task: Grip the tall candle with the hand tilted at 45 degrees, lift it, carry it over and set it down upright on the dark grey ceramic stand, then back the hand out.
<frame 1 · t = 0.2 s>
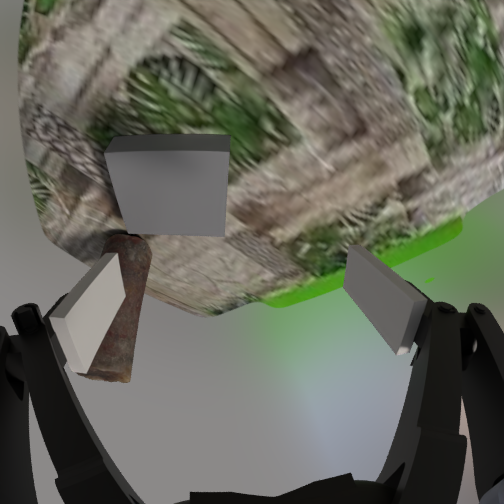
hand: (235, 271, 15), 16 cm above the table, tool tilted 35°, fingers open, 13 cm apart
candle: (130, 242, 39), on the table
stand: (173, 180, 30), on the table
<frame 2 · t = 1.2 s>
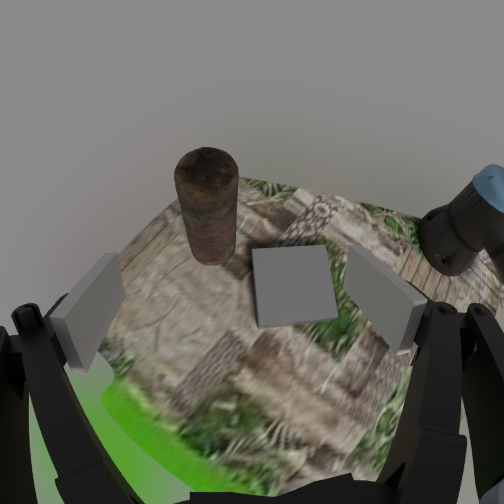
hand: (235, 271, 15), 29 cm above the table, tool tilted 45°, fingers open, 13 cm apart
candle: (214, 248, 47), on the table
stand: (291, 288, 45), on the table
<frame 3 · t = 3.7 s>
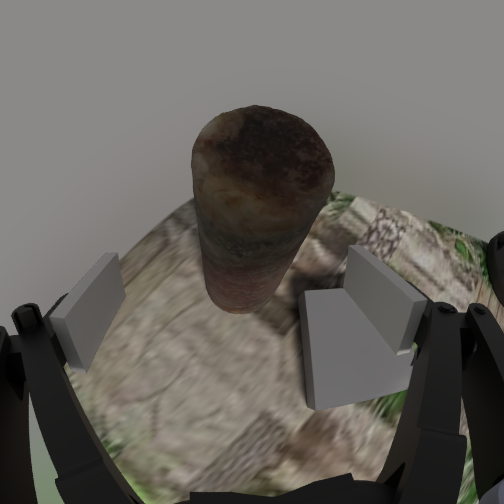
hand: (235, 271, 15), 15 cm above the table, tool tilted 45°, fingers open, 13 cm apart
candle: (241, 283, 31), on the table
stand: (354, 346, 29), on the table
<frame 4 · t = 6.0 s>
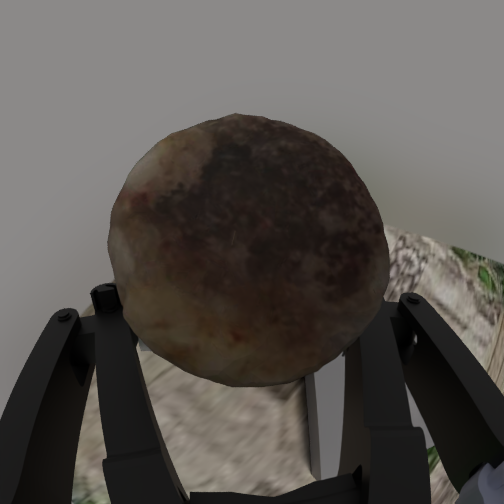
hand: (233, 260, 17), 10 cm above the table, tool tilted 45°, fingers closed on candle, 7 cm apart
candle: (233, 339, 24), on the table, touching gripper
stand: (367, 405, 22), on the table
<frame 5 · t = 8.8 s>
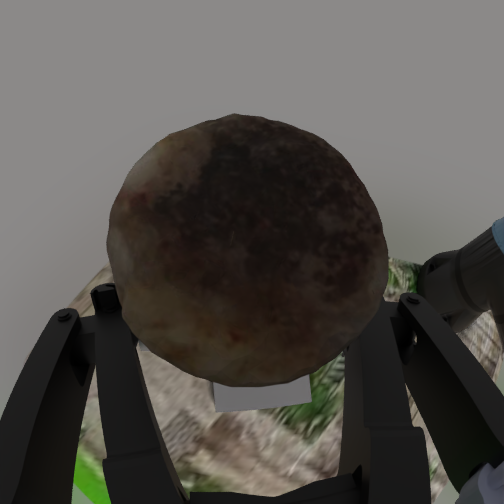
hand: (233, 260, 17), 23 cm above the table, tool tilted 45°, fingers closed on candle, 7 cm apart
candle: (233, 339, 24), point 13 cm above the table, touching gripper
stand: (257, 363, 36), on the table
when the fingers open (14 cm above the table, at t = 11.9 s): candle drops 1 cm, resting on stand.
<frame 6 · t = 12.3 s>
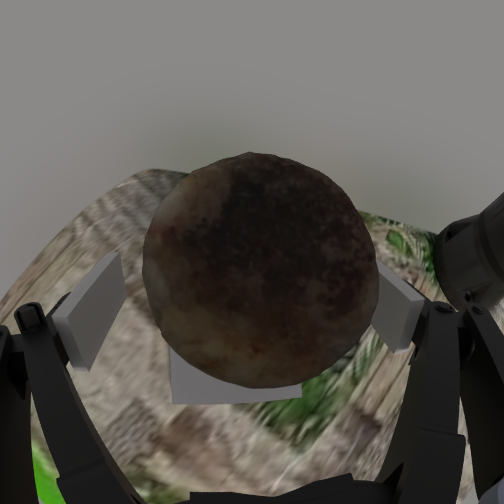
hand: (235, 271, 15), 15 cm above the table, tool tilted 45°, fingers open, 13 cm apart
candle: (236, 341, 26), point 3 cm above the table, touching stand
stand: (232, 343, 28), on the table
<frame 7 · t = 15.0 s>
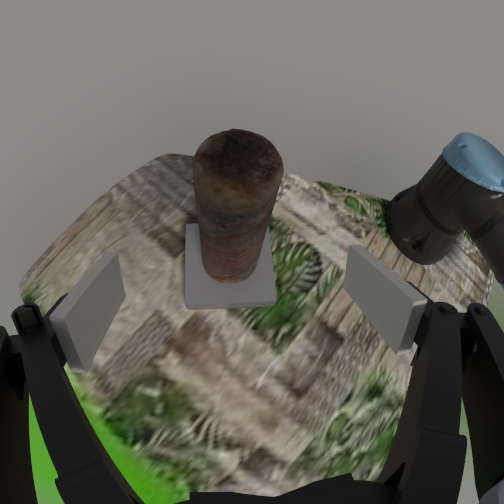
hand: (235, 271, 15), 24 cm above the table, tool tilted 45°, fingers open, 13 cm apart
candle: (230, 261, 39), point 3 cm above the table, touching stand
stand: (228, 268, 41), on the table
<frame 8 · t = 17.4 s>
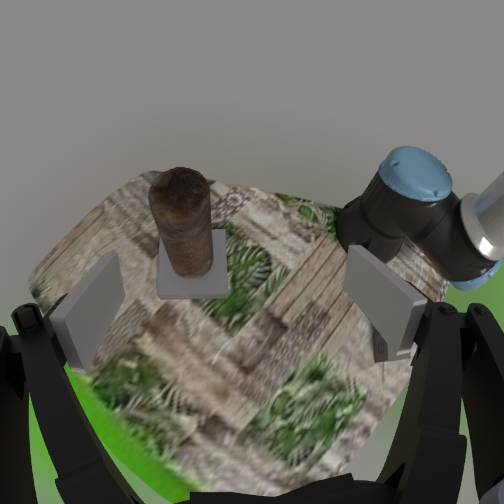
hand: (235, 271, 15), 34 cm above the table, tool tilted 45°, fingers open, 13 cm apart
candle: (193, 261, 48), point 3 cm above the table, touching stand
stand: (193, 267, 51), on the table
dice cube: (384, 349, 47), on the table
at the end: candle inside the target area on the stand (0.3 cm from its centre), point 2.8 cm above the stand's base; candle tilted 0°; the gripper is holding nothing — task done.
